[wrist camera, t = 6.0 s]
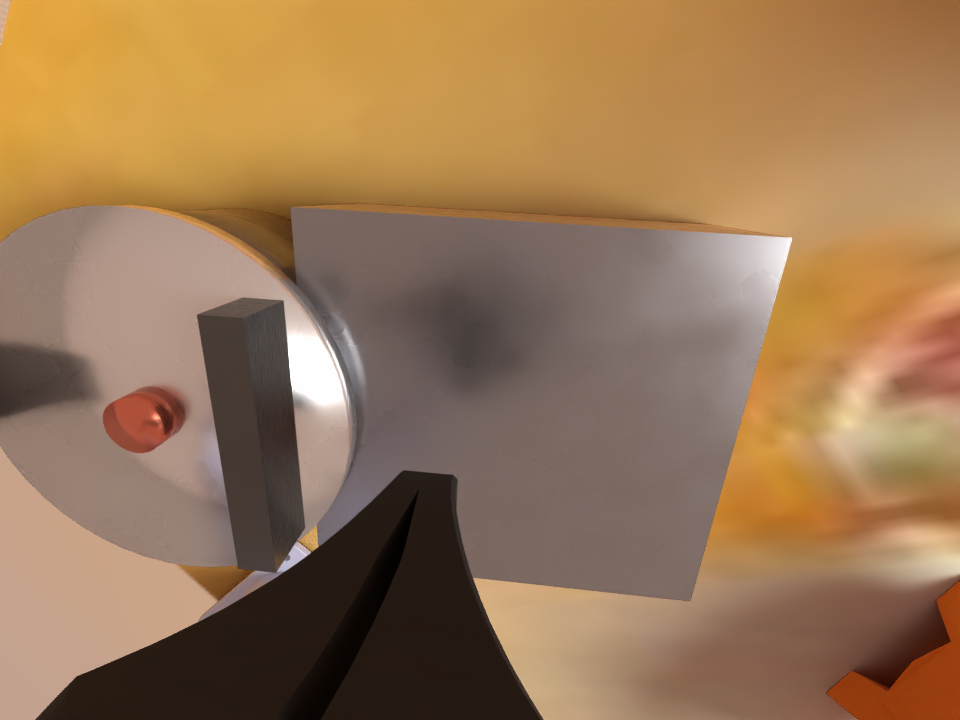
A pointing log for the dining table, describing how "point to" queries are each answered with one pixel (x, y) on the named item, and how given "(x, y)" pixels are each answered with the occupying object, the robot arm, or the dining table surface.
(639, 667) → the dining table surface
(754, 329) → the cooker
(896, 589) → the dining table surface
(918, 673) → the orange lumpy piece
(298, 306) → the lid
